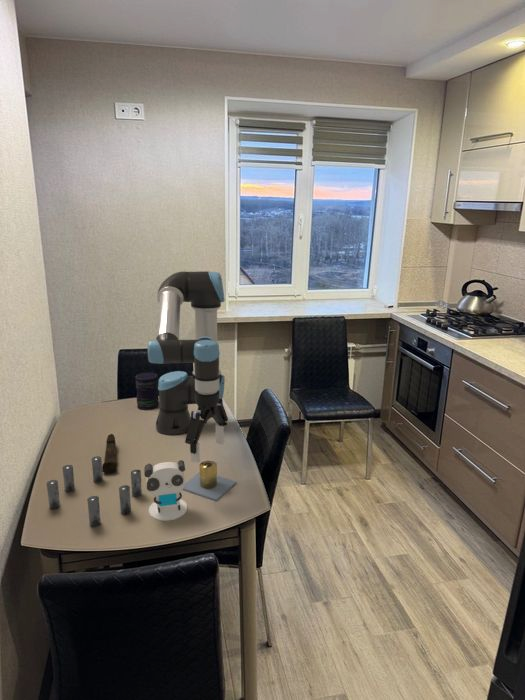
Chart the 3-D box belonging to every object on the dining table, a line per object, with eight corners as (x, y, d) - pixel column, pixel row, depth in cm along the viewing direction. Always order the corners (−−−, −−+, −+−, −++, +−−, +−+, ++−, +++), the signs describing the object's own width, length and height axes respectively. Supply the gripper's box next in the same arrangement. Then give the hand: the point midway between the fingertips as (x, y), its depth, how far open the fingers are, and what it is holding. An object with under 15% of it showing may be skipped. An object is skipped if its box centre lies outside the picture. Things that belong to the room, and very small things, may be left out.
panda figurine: (146, 523, 136) (144, 476, 132) (146, 501, 146) (144, 457, 142) (188, 517, 139) (187, 472, 135) (185, 496, 149) (184, 453, 145)
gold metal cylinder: (206, 478, 159) (206, 458, 157) (220, 482, 156) (220, 463, 154) (196, 485, 154) (196, 466, 152) (210, 490, 152) (210, 470, 150)
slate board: (201, 472, 164) (201, 470, 163) (236, 483, 157) (236, 481, 157) (179, 488, 153) (179, 487, 153) (216, 501, 147) (216, 499, 147)
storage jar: (152, 400, 226) (151, 370, 222) (162, 407, 219) (161, 376, 215) (133, 405, 220) (131, 375, 216) (143, 412, 213) (141, 380, 209)
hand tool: (117, 474, 162) (116, 459, 161) (102, 475, 161) (101, 460, 159) (121, 444, 183) (120, 431, 182) (108, 445, 182) (107, 432, 181)
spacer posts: (91, 474, 161) (89, 452, 159) (152, 496, 149) (151, 474, 147) (39, 503, 144) (36, 480, 142) (103, 532, 132) (101, 506, 130)
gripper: (219, 376, 159) (219, 434, 165) (171, 401, 138) (174, 466, 144) (238, 380, 155) (238, 439, 161) (192, 406, 134) (194, 473, 140)
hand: (207, 452), depth 152 cm, fingers open, 13 cm apart
